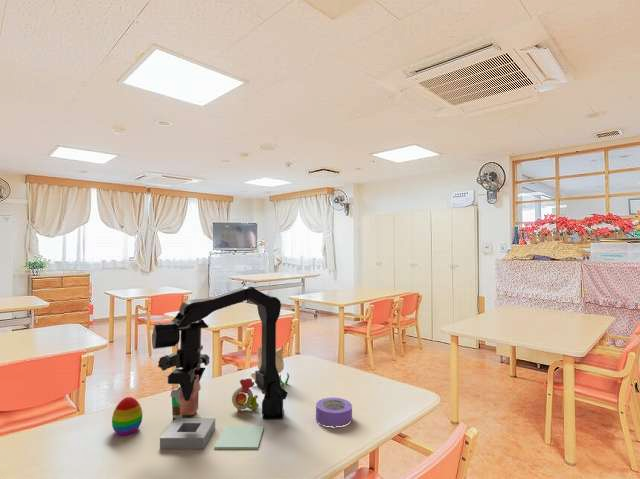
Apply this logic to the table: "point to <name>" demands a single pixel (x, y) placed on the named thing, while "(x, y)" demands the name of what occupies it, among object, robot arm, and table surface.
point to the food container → (178, 404)
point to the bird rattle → (244, 396)
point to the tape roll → (333, 412)
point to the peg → (190, 400)
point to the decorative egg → (127, 416)
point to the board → (240, 437)
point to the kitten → (278, 363)
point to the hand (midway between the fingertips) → (189, 397)
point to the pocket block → (188, 433)
